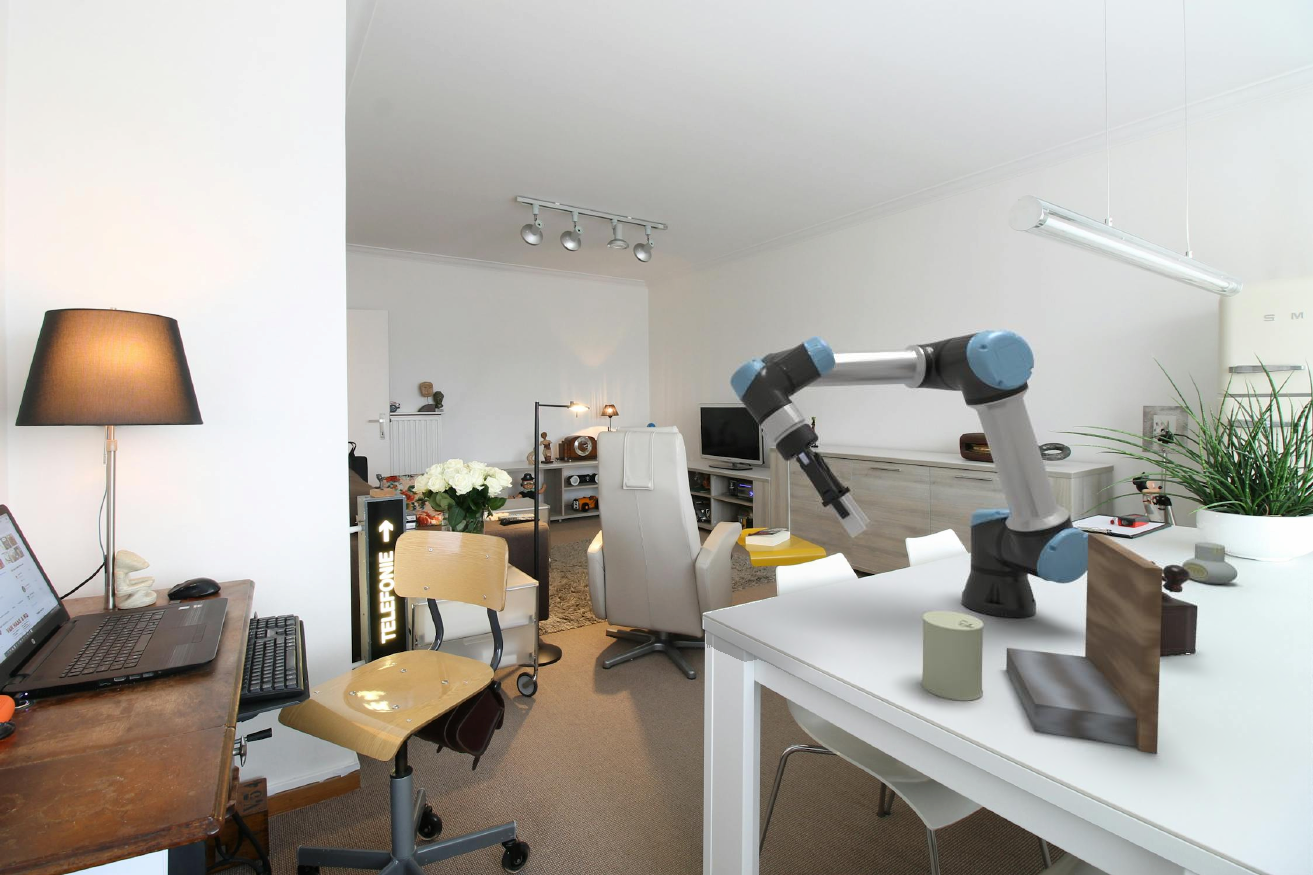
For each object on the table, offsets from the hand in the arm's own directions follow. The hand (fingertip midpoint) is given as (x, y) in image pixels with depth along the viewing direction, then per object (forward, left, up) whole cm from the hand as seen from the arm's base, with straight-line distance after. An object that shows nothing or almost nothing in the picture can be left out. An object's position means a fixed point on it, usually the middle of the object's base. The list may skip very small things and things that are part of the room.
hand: (861, 529), depth 108 cm
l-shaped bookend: (-26, +19, -25) cm, 40 cm away
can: (-11, +10, -25) cm, 29 cm away
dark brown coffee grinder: (-60, +3, -25) cm, 65 cm away
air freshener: (-118, -34, -25) cm, 125 cm away
